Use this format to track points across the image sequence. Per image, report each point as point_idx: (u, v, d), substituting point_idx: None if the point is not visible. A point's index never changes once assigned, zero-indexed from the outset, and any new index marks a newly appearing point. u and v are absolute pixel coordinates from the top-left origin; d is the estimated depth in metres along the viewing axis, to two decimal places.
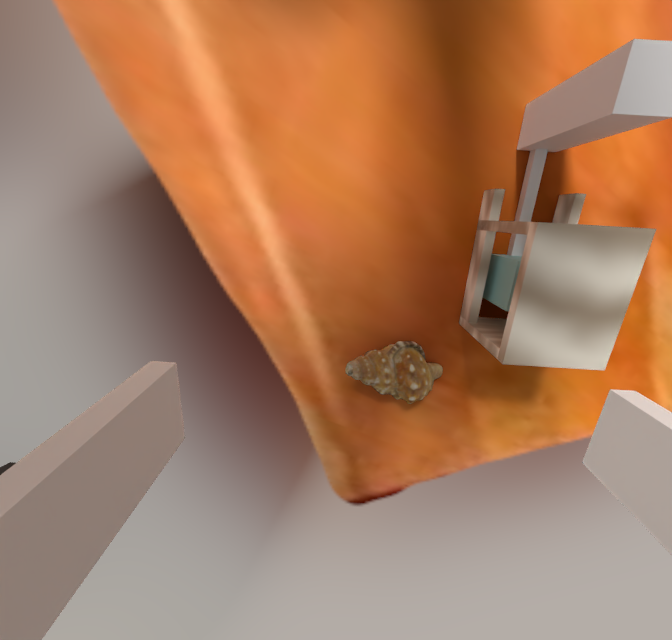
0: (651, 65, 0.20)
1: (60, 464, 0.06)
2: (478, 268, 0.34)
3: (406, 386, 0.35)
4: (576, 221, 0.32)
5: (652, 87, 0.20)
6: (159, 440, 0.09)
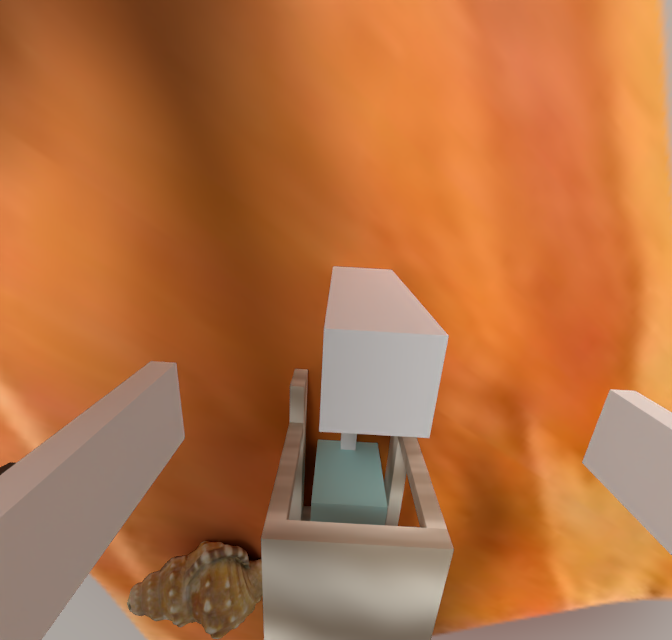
0: (369, 366, 0.10)
1: (60, 464, 0.06)
2: None
3: (204, 626, 0.26)
4: None
5: (381, 398, 0.11)
6: (159, 440, 0.09)
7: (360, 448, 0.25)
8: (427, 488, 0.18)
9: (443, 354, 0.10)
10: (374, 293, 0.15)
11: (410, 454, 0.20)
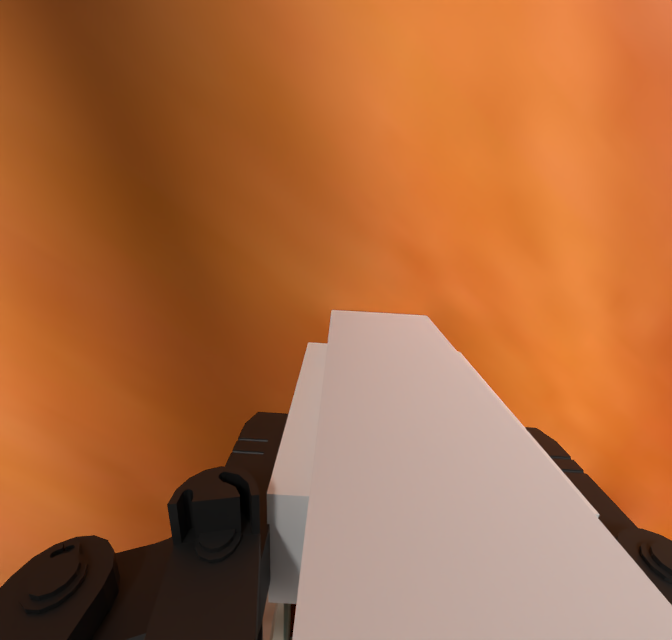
0: None
1: (319, 408, 0.08)
2: None
3: None
4: None
5: None
6: None
7: None
8: None
9: None
10: (422, 412, 0.06)
11: None
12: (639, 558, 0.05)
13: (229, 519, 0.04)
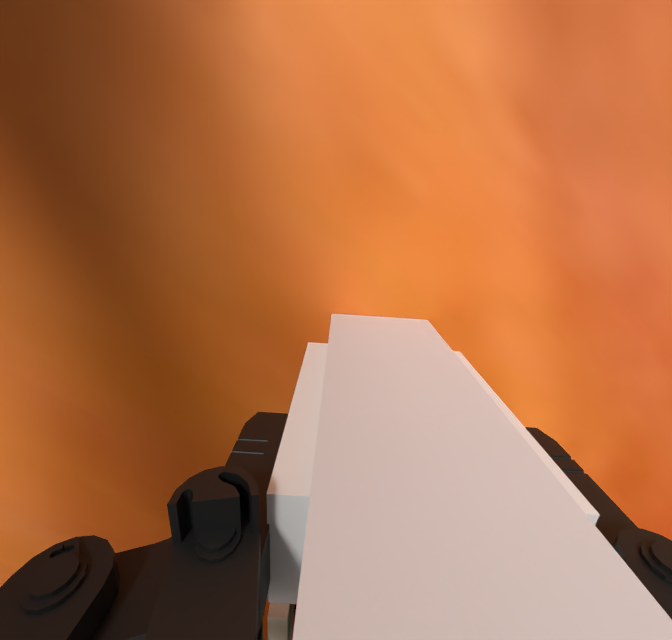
0: None
1: (319, 408, 0.08)
2: None
3: None
4: None
5: None
6: None
7: None
8: None
9: None
10: (422, 420, 0.06)
11: None
12: (639, 558, 0.05)
13: (228, 519, 0.04)
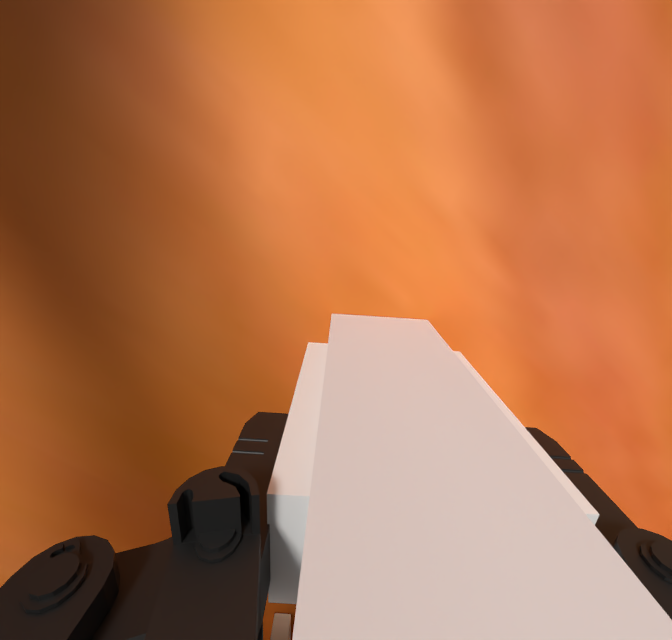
0: None
1: (319, 408, 0.08)
2: None
3: None
4: None
5: None
6: None
7: None
8: None
9: None
10: (422, 420, 0.06)
11: None
12: (639, 558, 0.05)
13: (229, 519, 0.04)
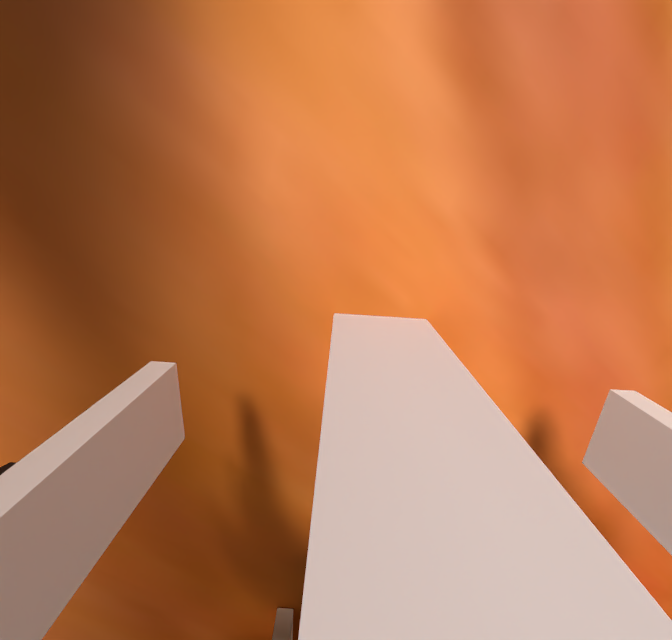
0: None
1: (60, 464, 0.06)
2: None
3: None
4: None
5: None
6: (159, 440, 0.09)
7: None
8: None
9: None
10: (420, 411, 0.07)
11: None
12: None
13: None
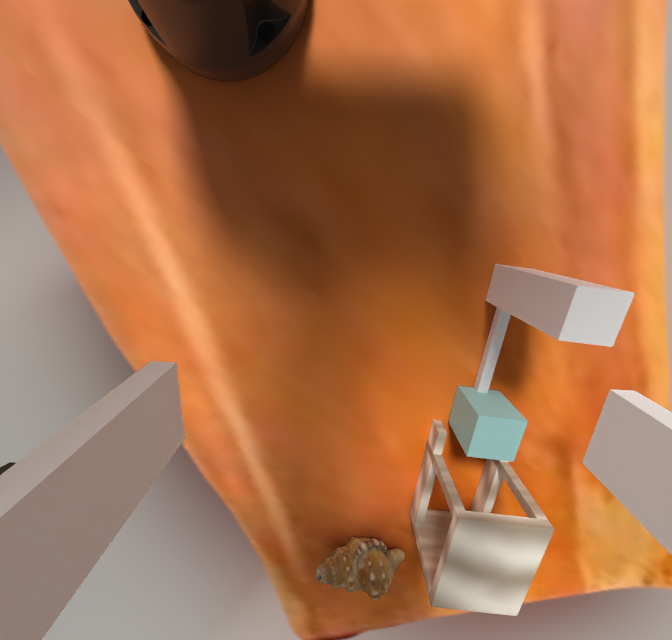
0: (593, 306, 0.22)
1: (60, 464, 0.06)
2: (424, 485, 0.39)
3: (368, 590, 0.40)
4: None
5: (594, 323, 0.22)
6: (159, 440, 0.09)
7: (489, 392, 0.36)
8: (529, 498, 0.32)
9: (630, 302, 0.22)
10: (559, 277, 0.26)
11: (513, 478, 0.35)
12: None
13: None
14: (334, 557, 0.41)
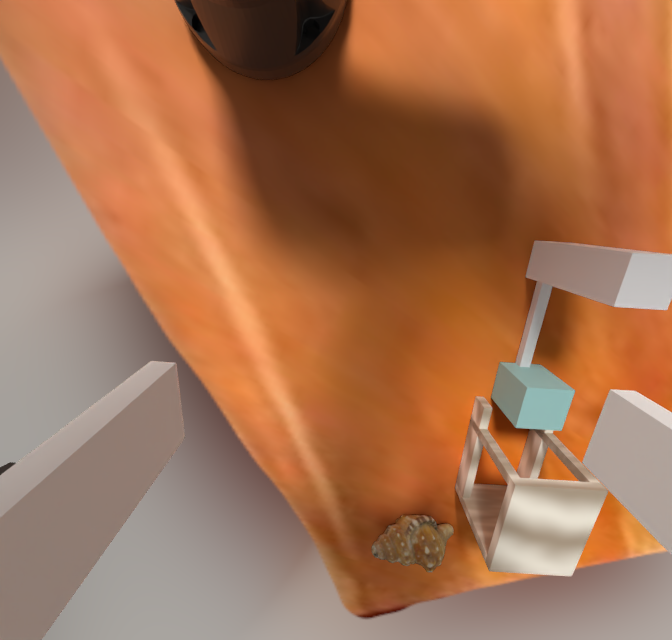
0: (648, 272, 0.23)
1: (60, 464, 0.06)
2: (471, 460, 0.40)
3: (423, 563, 0.42)
4: (552, 430, 0.38)
5: (649, 288, 0.23)
6: (159, 440, 0.09)
7: (532, 366, 0.37)
8: (579, 464, 0.33)
9: None
10: None
11: (560, 447, 0.36)
12: None
13: None
14: (388, 534, 0.43)
